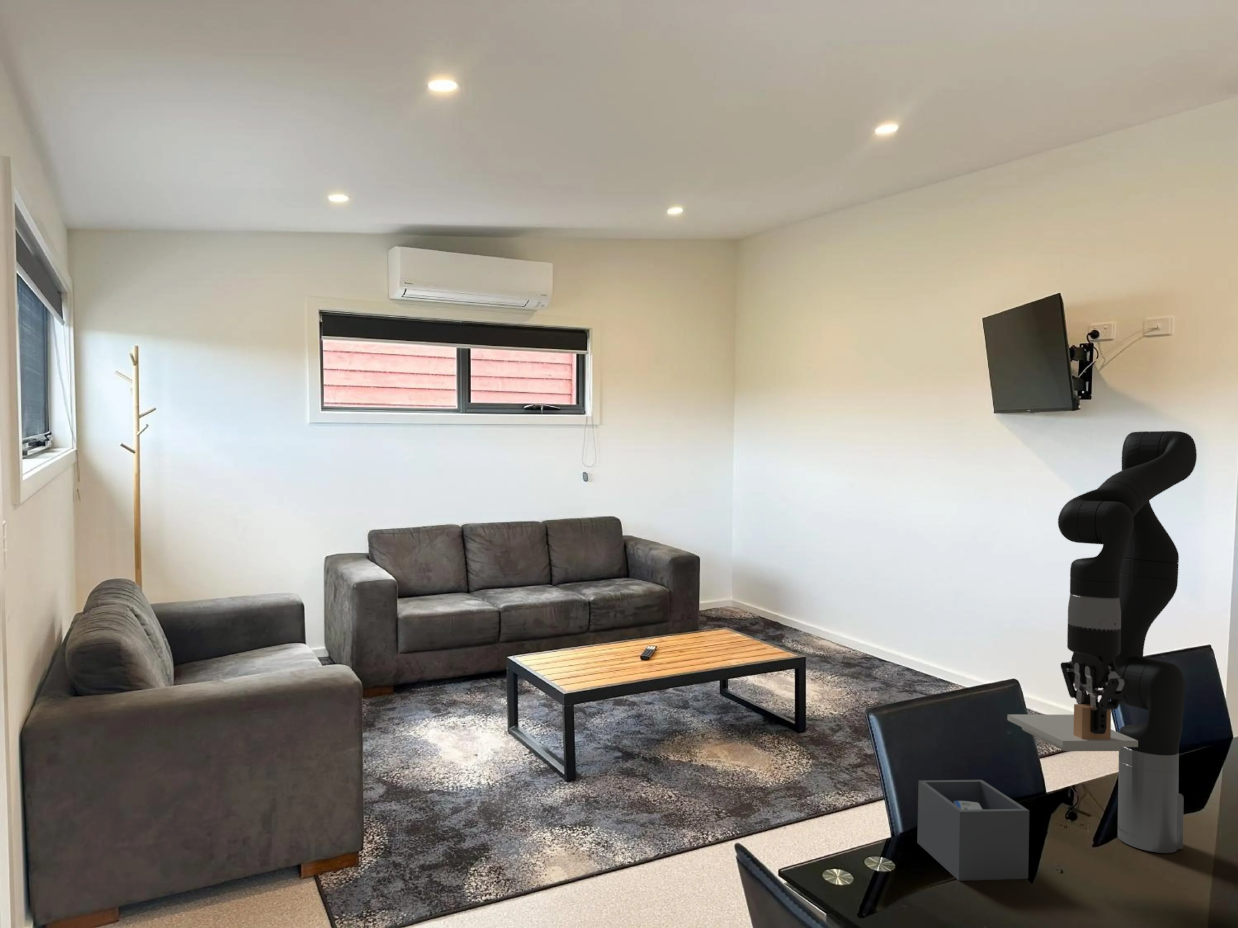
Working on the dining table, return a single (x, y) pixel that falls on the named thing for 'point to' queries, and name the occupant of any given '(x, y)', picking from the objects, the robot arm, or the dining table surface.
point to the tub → (973, 830)
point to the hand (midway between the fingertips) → (1092, 730)
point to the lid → (1072, 730)
